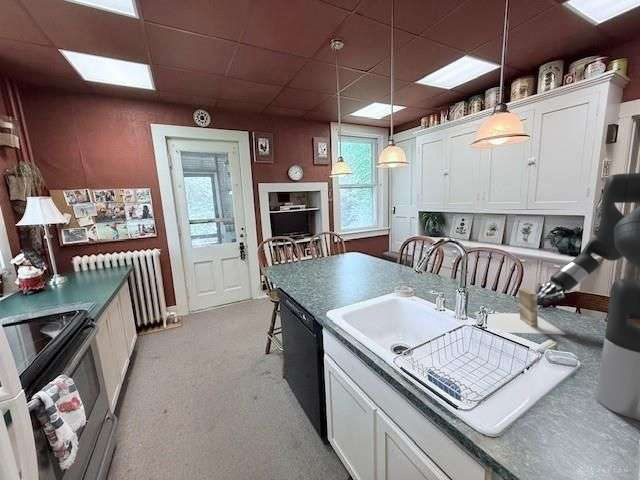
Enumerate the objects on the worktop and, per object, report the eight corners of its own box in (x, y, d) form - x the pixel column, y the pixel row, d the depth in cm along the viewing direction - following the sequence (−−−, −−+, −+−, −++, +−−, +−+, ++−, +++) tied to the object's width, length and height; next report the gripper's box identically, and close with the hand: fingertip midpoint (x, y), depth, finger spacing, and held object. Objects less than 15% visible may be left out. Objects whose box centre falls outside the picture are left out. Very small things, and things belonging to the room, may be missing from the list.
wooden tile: (526, 318, 115) (525, 287, 113) (538, 326, 108) (537, 293, 106) (520, 318, 115) (518, 288, 113) (531, 326, 108) (529, 294, 106)
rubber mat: (533, 315, 119) (533, 313, 119) (566, 335, 102) (566, 334, 102) (473, 313, 122) (473, 312, 122) (495, 333, 104) (495, 332, 104)
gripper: (550, 265, 113) (516, 292, 116) (576, 274, 100) (538, 304, 103) (562, 278, 113) (528, 304, 116) (590, 288, 100) (551, 317, 103)
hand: (533, 304), depth 110 cm, fingers closed
